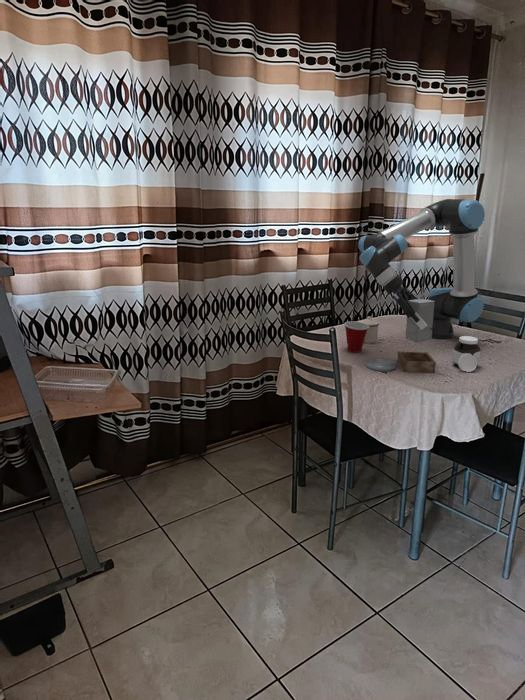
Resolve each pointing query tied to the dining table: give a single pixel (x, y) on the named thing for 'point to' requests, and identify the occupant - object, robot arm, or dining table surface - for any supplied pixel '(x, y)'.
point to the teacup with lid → (371, 330)
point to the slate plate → (380, 364)
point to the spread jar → (466, 353)
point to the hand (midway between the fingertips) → (427, 324)
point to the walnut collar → (416, 362)
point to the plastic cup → (355, 335)
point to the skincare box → (426, 313)
